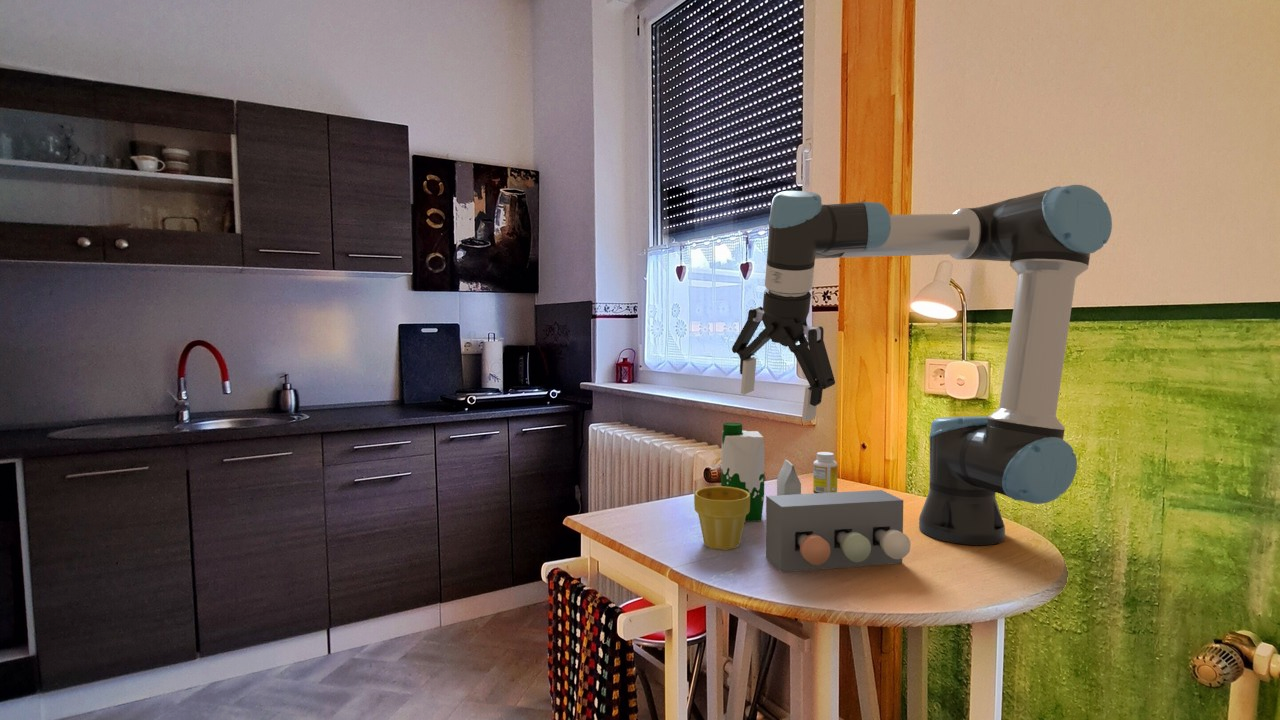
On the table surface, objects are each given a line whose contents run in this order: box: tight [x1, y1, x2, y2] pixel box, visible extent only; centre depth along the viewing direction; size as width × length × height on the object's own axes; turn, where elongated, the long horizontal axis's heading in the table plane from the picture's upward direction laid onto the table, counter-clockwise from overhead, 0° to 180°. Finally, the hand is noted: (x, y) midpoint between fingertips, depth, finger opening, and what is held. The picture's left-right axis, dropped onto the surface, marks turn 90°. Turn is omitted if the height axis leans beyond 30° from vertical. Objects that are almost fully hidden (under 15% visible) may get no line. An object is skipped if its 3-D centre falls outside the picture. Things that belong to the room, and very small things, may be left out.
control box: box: [765, 489, 904, 573], centre depth 113 cm, size 22×7×11 cm, turn 100°
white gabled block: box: [776, 459, 802, 495], centre depth 147 cm, size 4×7×10 cm, turn 2°
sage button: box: [835, 531, 871, 562], centre depth 107 cm, size 4×6×4 cm
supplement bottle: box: [812, 451, 838, 494], centre depth 156 cm, size 6×6×10 cm
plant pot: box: [693, 485, 750, 551], centre depth 121 cm, size 10×10×10 cm
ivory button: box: [873, 528, 912, 560], centre depth 108 cm, size 4×6×4 cm
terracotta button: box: [796, 533, 830, 565], centre depth 106 cm, size 4×6×4 cm
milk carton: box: [720, 422, 765, 522], centre depth 139 cm, size 9×9×20 cm
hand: (776, 405), depth 114 cm, fingers open, 13 cm apart
